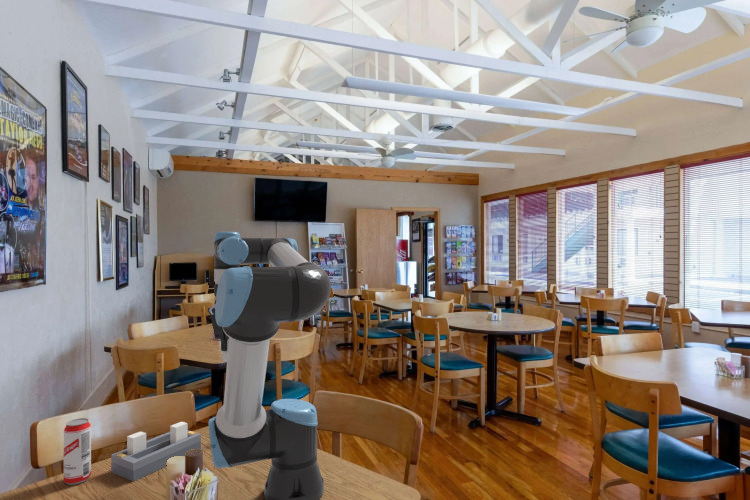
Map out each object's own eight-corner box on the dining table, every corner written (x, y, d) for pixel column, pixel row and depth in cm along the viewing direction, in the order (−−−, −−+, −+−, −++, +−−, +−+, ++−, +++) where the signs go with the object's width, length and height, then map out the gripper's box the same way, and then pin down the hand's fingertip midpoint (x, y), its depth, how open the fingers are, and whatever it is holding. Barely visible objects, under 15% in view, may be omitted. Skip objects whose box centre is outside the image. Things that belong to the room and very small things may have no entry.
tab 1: (146, 453, 130) (146, 433, 130) (133, 459, 126) (133, 438, 126) (140, 451, 131) (140, 431, 131) (127, 457, 128) (127, 436, 128)
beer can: (77, 487, 118) (77, 427, 118) (57, 484, 119) (57, 425, 119) (96, 475, 124) (96, 418, 124) (77, 473, 125) (77, 416, 125)
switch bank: (200, 450, 140) (200, 433, 140) (133, 481, 121) (133, 462, 121) (179, 443, 145) (179, 426, 145) (111, 472, 126) (111, 453, 126)
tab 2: (187, 442, 138) (187, 423, 138) (176, 447, 134) (176, 427, 134) (181, 440, 139) (181, 421, 139) (170, 445, 135) (170, 425, 135)
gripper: (234, 281, 142) (235, 355, 142) (200, 283, 130) (201, 364, 130) (252, 282, 138) (252, 358, 138) (218, 284, 127) (218, 367, 126)
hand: (227, 361), depth 134 cm, fingers closed
